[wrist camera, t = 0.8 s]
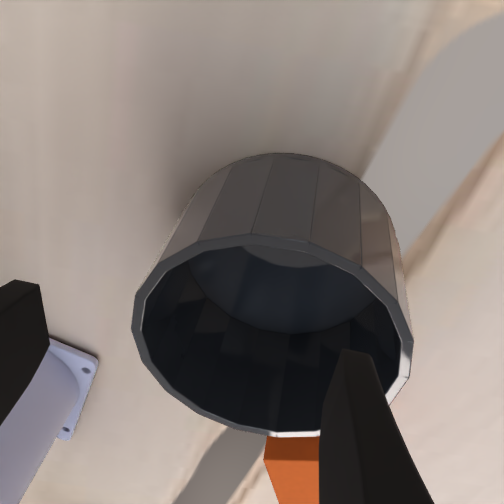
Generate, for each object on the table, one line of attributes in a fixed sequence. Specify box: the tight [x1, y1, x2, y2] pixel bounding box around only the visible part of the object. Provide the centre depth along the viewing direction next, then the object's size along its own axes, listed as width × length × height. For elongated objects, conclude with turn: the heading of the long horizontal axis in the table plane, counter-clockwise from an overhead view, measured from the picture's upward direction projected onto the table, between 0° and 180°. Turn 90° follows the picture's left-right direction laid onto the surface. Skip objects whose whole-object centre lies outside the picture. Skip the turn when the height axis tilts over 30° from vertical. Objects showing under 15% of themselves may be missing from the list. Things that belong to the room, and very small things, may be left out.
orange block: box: [263, 436, 320, 504], centre depth 24 cm, size 4×4×5 cm
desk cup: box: [131, 153, 414, 437], centre depth 19 cm, size 10×10×6 cm
